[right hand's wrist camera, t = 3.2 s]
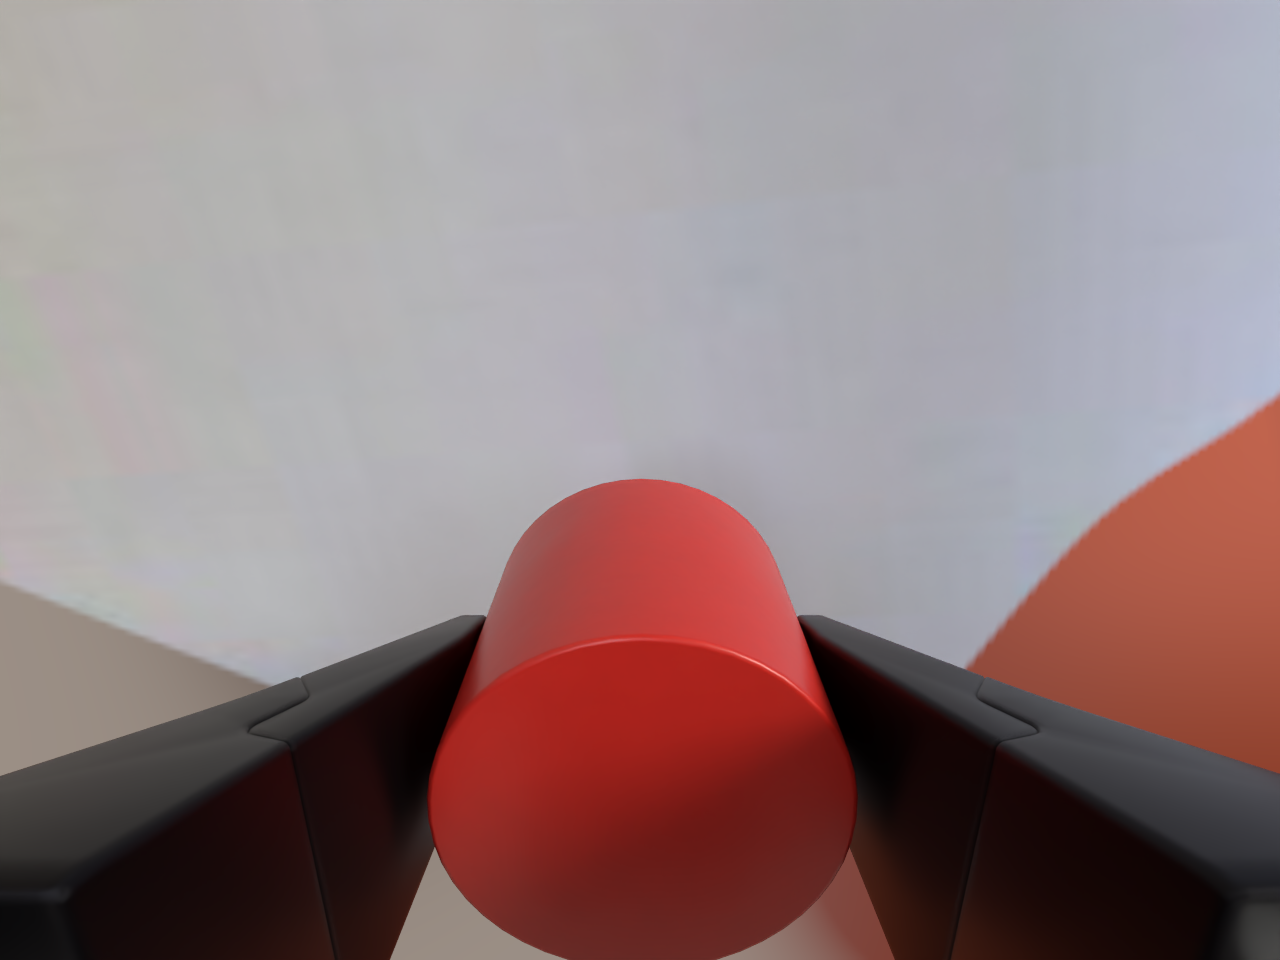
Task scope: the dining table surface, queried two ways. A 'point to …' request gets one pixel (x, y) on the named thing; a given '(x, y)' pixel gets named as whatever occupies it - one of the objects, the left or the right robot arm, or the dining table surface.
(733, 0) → the dining table surface
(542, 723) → the cylinder
